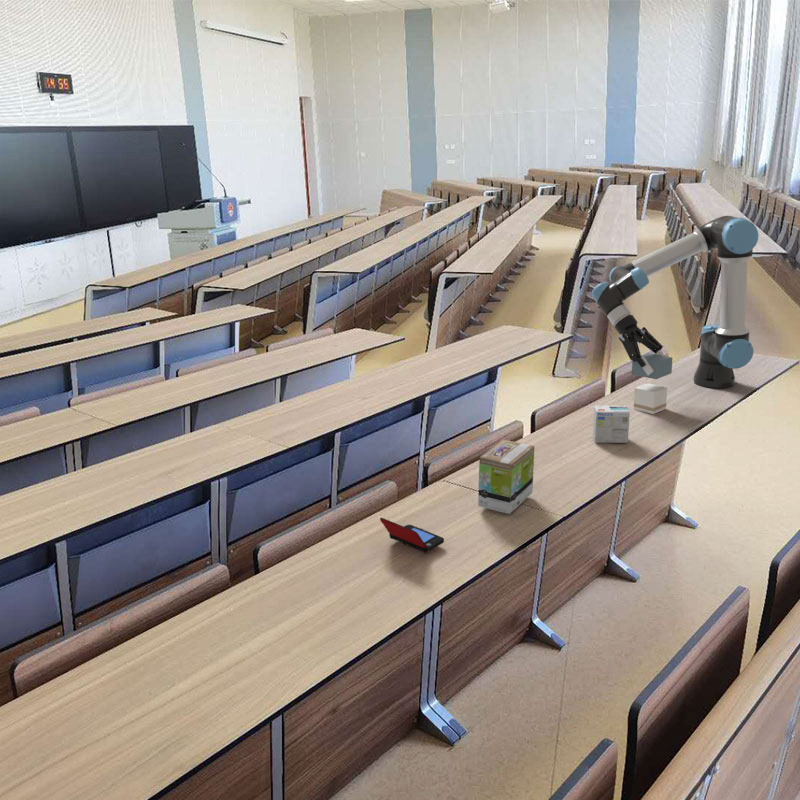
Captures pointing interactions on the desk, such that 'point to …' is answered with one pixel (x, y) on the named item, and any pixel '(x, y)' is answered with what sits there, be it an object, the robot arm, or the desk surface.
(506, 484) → the tea box
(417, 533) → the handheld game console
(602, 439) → the light bulb box
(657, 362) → the grey-blue square block
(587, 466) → the desk surface
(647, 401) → the carton
